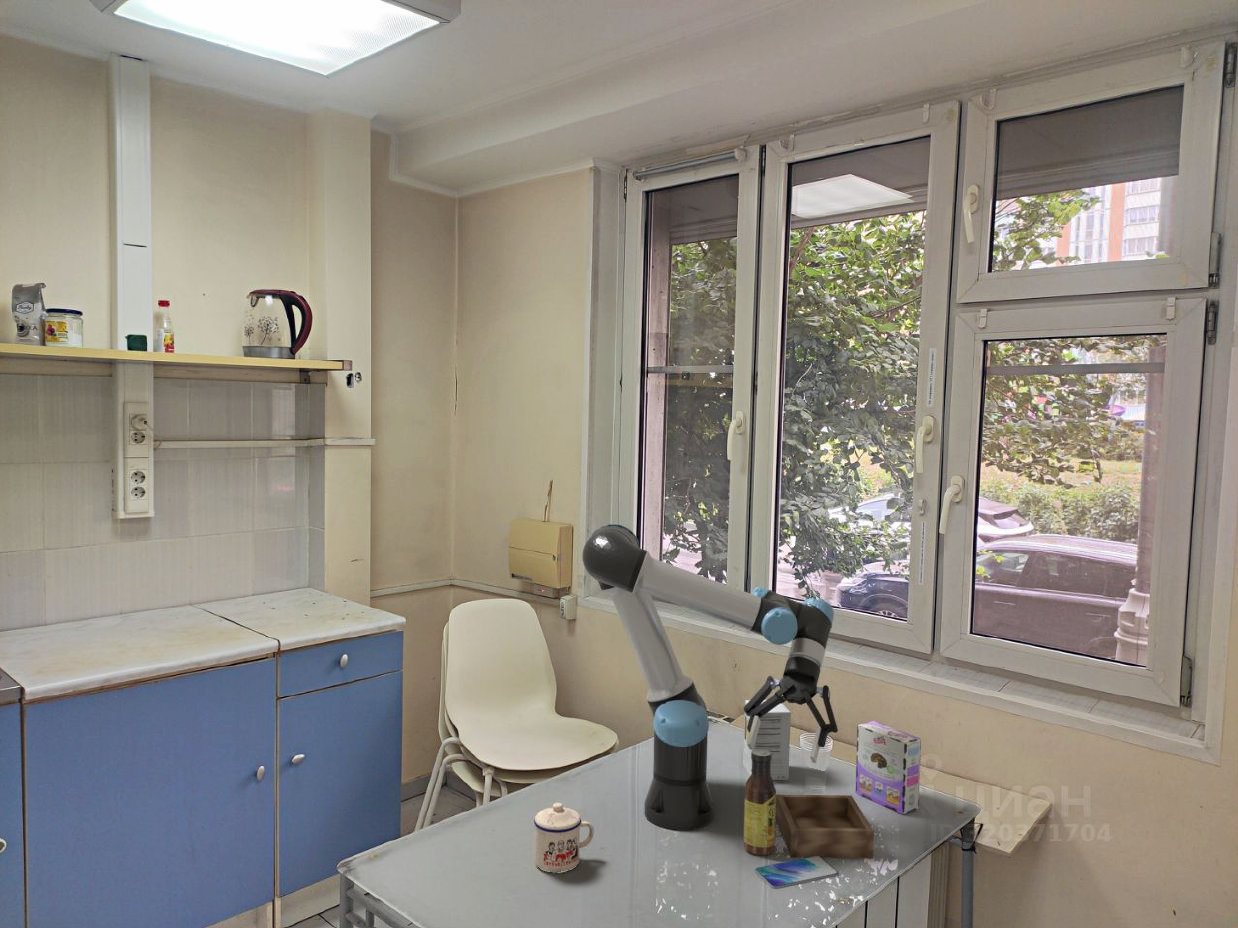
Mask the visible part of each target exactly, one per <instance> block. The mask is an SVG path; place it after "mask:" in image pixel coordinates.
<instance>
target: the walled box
mask: <svg viewBox="0 0 1238 928" xmlns="http://www.w3.org/2000/svg"><path fill="white" fill-rule="evenodd" d="M775 823H776V825H777V827H778V829H779V832H780V834H781V837H782V840H783V842H784V844H785V846H786V848H787V851H788V855H789V856H790V858H807V857H812V856H821V857H822V858H823V859H824V858H826V859H827V858H829V859H874V847H875V845H874V844H875V843H874V841H875V830H874V829H873V827H872V826H871V824H870V822H869V821H868V819H867V817H866V816H865V815H864V812H863V811H862V810H861V808H860V806H859V805H858V803H857V802H856V800H855V798H854V797H853V796H852V795H851V794H849V795H847V794H846V795H843V794H842V795H839V794H837V795H835V794H834V795H833V794H777V793H776V816H775Z"/></svg>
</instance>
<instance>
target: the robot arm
mask: <svg viewBox="0 0 1238 928" xmlns="http://www.w3.org/2000/svg"><path fill="white" fill-rule="evenodd" d="M582 562H583V566H584V569H585V570H586V572H587V573H588V575H590V577H592V578H593V579H594V580H596V581H597V583H598V585H599V587H600V590H601V591H602V592H604V593H606V594H609V595H610V596H611V599H612V601H613V605H614V607H615V609H616V612H617V614H618V615H619V619H620V621H621V624H622V627H623V628H624V632H625V633H626V635H627V638H628V640H629V643H630V645H631V648H632V650H633V652H634V655H635V657H636V661H637V662H638V665H639V667H640V670H641V672H642V674H643V676H644V680H645V682H646V684H647V686H648V692H647V695H646V697H645V698H646V702H647V704H648V705H649V708H650V711H651V713H652V716H653V723H652V725H653V762H652V763H653V767H652V768H653V769H652V770H653V771H652V780H651V784H650V786H649V789H648V792H647V794H646V797H645V800H644V810H643V811H644V812H643V813H644V816H645V818H646V819H647V820H648V821H649V822H651V823H652V824H654V825H656V826H659V827H662V828H665V829H671V830H693V829H699V828H703V827H704V826H707V825H708V824H710V823H711V822H712V821H713V819H714V817H715V816H714V815H715V811H714V810H715V807H714V803H713V798H712V795H711V794H712V793H711V791H710V788H709V785H708V782H707V781H708V780H707V771H708V770H707V767H708V766H707V765H708V732H709V729H710V728H709V727H710V726H709V725H710V723H709V717H708V709H707V708H708V707H707V705H706V702H705V701H704V698H703V697H702V696H701V694H700V693H699V692H698V690H697V688H696V684H695V683H694V680H693V679H692V677H690V676H687V675H685V674H684V673H683V670H682V668H681V666H680V665H681V664H680V662H679V661H678V659H677V656H676V653H675V651H674V648H673V646H672V644H671V641H670V638H669V637H668V634H667V632H666V629H665V626H664V624H663V622H662V619H661V617H660V615H659V614H660V613H659V612H658V609H657V607H656V605H655V603H654V600H653V598H652V597H657V598H659V599H662V600H664V601H667V602H670V603H673V604H675V605H678V606H682V607H684V608H686V609H688V610H692V611H695V612H698V613H700V614H703V615H706V616H709V617H711V618H714V619H717V620H720V621H723V622H725V623H728V624H731V625H733V626H736V627H738V628H741V629H745V630H747V631H749V632H752V633H754V634H757V635H758V636H759V635H760V636H762V637H764V638H765V639H766V640H767V641H768V642H769V643H771V644H774V645H778V646H784V645H787V644H789V643H791V644H790V645H791V646H790V648H789V652H788V655H787V660H786V663H785V667H784V670H783V674H782V678H781V679H780V680H779V679H776V678H773V676H771V675H768V676H767V678H766V680H765V683H764V684H763V686H761V688H760V689H759V690H758V691H756V693H755V694H754V695H753V697H751V699H749V700H750V701H749V702H748V703H747V704H746V705H745V704H744V707H743V712H744V714H745V713H746V715H747V716H750V719H749V722H748V726H747V730H748V732H750V734H749V737H748V741H747V745H748V747H749V749H751V750H753V748H754V745H755V741H756V738H757V734H758V730H759V727H760V723H761V721H760V719H759V718H760V717H762V716H763V715H765V714H766V713H768V712H769V711H770V710H772V709H773V708H775V707H776V706H777V705H779V704H782V703H783V704H784V703H785V702H788V703H789V704H797V705H800V706H803V705H804V704H806V705H807V707H808V709H809V710H810V712H811V714H812V715H813V717H814V718H815V720H816V722H817V725H818V726H819V727H816V730H815V733H814V734H815V735H814V738H813V743H812V746H811V751H810V754H809V755H810V756H809V758H810V761H811V762H812V763H813V764H817V761H818V756H819V751H820V748H824V747H825V746H826V742H827V739H828V735H829V733H833V734H835V733H836V734H837V733H838V731H839V728H838V725H837V721H836V718H835V715H834V711H833V708H832V704H831V701H830V700H831V690H830V688H829V686H828V685H825V684H824V685H823V686H822V687H821V686H818V683H819V679H820V674H821V668H822V667H823V662H824V658H825V654H826V650H827V649H826V648H827V646H828V641H829V637H830V635H831V630H832V627H833V621H834V614H835V613H834V608H833V606H832V605H831V604H830V603H828V602H827V601H825V600H823V599H820V598H818V599H817V598H813V597H811V598H807V599H805V600H804V601H803V602H798V601H796V600H794V599H791V598H788V597H786V596H785V595H781V594H780V593H777V592H775V591H773V590H771V589H767V588H764V587H762V586H757V587H755V588H754V589H753V590H752V592H751V593H749V592H747V591H745V590H741V589H738V588H736V587H732V586H730V585H727V584H725V583H722V582H719V581H717V580H715V579H711V578H708V577H705V576H703V575H700V574H697V573H695V572H692V571H689V570H687V569H684V568H682V567H678V566H676V565H673V564H670V563H667V562H665V561H661V560H659V559H656V558H653V557H652V556H651V553H650V552H649V551H648V550H645V549H643V548H640V544H639V539H638V538H637V535H636V534H635V533H634V532H633V530H631V529H630V528H629V527H627V526H625V525H622V524H620V523H610V524H609V523H608V524H606V525H602V526H600V527H599V528H597V529H595V531H594V532H592V534H591V535H590V537H589V538H588V539H587V541H586V542H585V545H584V546H583V550H582ZM778 687H779V689H777V688H778ZM776 689H777V691H775V693H774V694H773V695H772V696H770V697H769V698H768V696H769V695H771V693H772V692H773V690H776ZM817 694H818V695H819V697H820V698H821V699H822V701H823V704H824V705H823V706H824V707H825V712H826V715H827V720H828V722H829V723H826V721H825V720H824V718H823V716H822V715H821V714H822V713H820V711H819V709H818V708H817V706H816V704H815V702H814V701H813V699H812V698H814V697H815V696H816V695H817ZM764 700H766V701H765V702H763V701H764ZM762 702H763V703H762ZM761 703H762V704H761Z"/></svg>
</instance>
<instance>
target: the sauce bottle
mask: <svg viewBox="0 0 1238 928" xmlns="http://www.w3.org/2000/svg"><path fill="white" fill-rule="evenodd" d="M771 755H772V754H771V752H770V751H768V750H765V749H755V750H753V751H752V752H751V759H752V769H751V772H752V774H751V776H749V777H748V778H747V781H746V783H745V788H744V789H745V796H744V807H743V808H744V811H743V812H744V813H743V841H744V842H743V847H744V849H745V851H747V853H749V854H752V855H754V856H755V855H756V856H766V855H770V854H772V853H773V851H774V849H775V843H776V820H775V816H776V794H777V789H776V787H775V784H774V780H772V777H771V774H770V773H771V771H770V765H771V764H770V762H771V759H772V756H771Z"/></svg>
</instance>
